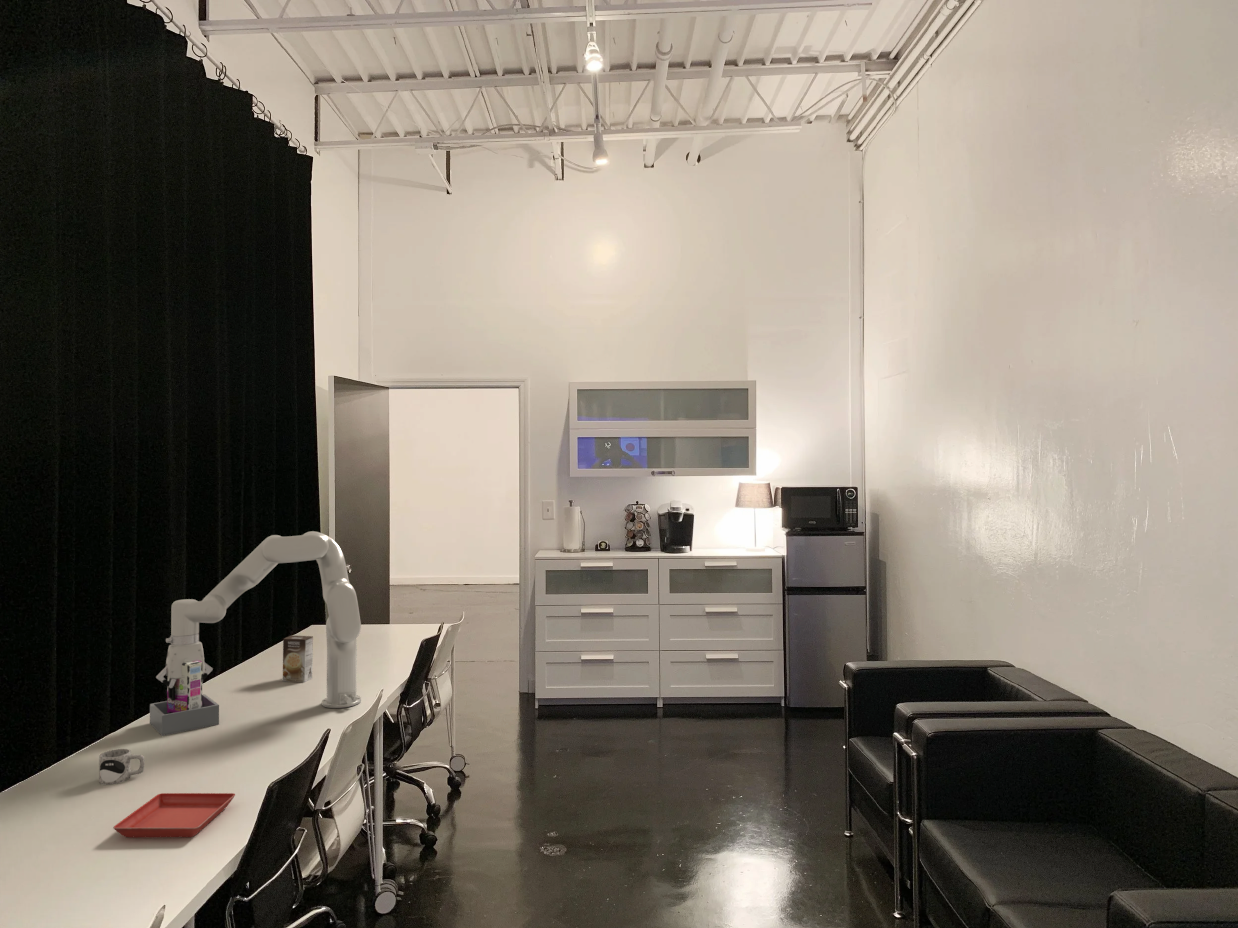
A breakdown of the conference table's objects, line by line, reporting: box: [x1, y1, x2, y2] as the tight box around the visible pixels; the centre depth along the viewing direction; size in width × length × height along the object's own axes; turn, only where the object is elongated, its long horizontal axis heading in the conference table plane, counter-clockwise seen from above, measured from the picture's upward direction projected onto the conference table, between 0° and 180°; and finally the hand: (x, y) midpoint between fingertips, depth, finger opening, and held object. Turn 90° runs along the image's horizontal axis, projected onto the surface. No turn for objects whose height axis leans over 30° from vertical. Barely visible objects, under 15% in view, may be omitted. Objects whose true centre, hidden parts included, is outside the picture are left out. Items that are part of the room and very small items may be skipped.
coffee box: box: [282, 634, 314, 683], centre depth 292 cm, size 9×6×16 cm
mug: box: [98, 748, 145, 785], centre depth 198 cm, size 10×7×7 cm
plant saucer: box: [113, 792, 236, 839], centre depth 173 cm, size 18×18×3 cm
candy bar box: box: [166, 661, 203, 713], centre depth 241 cm, size 11×5×16 cm, turn 61°
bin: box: [149, 694, 220, 737], centre depth 241 cm, size 16×16×6 cm
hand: (184, 696), depth 241 cm, fingers closed on candy bar box, 6 cm apart
